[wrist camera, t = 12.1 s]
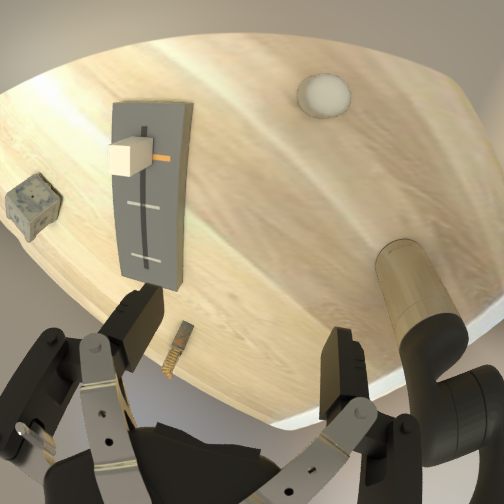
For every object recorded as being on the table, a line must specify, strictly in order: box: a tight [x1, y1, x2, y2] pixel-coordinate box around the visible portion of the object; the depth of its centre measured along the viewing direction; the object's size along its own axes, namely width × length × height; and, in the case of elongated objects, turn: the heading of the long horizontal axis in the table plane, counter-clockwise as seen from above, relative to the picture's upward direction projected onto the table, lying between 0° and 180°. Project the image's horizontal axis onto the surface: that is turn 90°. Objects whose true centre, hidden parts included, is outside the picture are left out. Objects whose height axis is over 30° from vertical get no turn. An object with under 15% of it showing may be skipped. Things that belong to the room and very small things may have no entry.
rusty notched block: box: [162, 320, 194, 380], centre depth 57 cm, size 11×3×10 cm, turn 154°
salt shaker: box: [297, 74, 351, 119], centre depth 26 cm, size 6×6×13 cm
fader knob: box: [108, 136, 153, 177], centre depth 33 cm, size 4×4×6 cm
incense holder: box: [5, 174, 61, 243], centre depth 42 cm, size 10×8×10 cm
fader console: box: [112, 101, 193, 292], centre depth 42 cm, size 32×12×3 cm, turn 171°
